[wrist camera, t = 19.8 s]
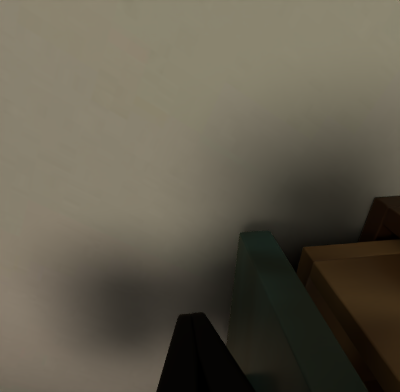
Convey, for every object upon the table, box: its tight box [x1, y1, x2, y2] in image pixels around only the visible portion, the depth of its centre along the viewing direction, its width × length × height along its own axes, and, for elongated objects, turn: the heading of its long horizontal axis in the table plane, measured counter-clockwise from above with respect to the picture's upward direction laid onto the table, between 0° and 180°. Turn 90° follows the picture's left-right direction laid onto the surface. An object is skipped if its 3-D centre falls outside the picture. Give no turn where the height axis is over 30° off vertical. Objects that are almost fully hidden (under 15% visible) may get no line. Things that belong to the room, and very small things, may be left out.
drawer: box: [226, 230, 400, 392], centre depth 12 cm, size 15×11×6 cm
